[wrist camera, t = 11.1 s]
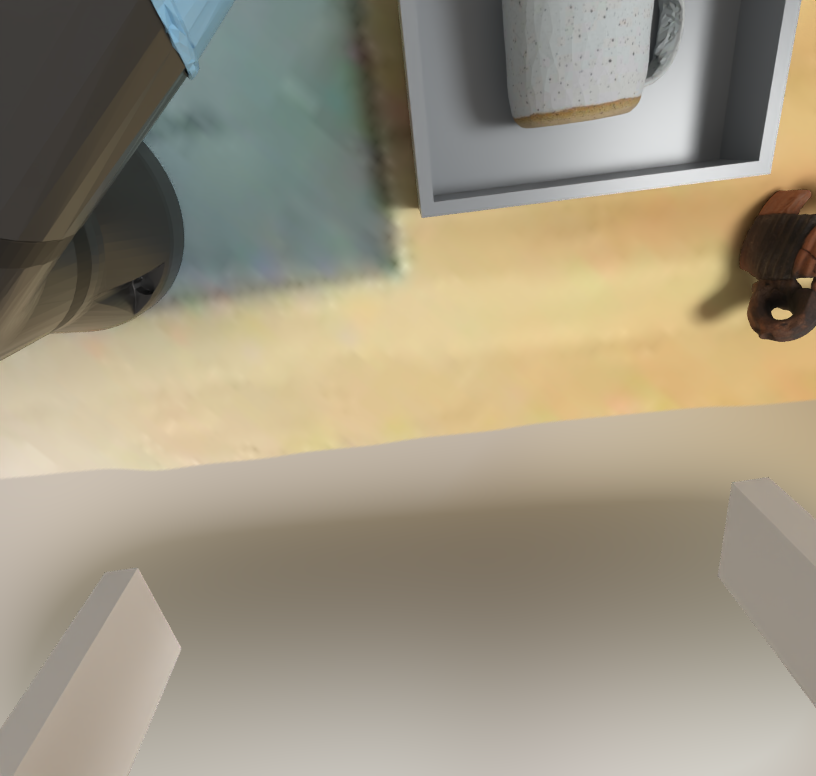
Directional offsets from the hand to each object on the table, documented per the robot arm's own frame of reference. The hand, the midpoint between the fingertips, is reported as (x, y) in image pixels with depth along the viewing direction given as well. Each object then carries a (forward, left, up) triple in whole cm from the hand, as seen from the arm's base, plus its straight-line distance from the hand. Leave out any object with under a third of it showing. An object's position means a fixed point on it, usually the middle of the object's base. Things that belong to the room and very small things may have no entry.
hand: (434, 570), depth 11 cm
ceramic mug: (+12, +13, -28) cm, 33 cm away
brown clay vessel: (+28, -2, -29) cm, 40 cm away
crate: (+12, +13, -28) cm, 33 cm away
